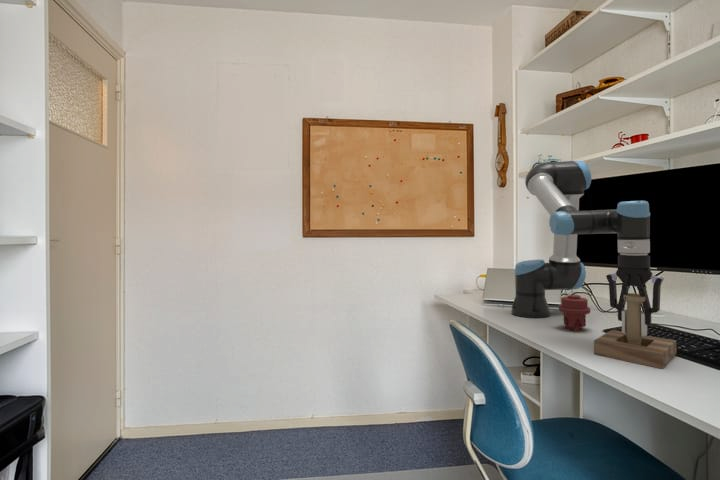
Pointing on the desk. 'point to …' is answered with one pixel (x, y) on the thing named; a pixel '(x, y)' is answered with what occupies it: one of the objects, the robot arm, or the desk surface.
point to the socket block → (636, 349)
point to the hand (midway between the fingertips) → (634, 333)
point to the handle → (634, 318)
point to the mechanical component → (574, 311)
